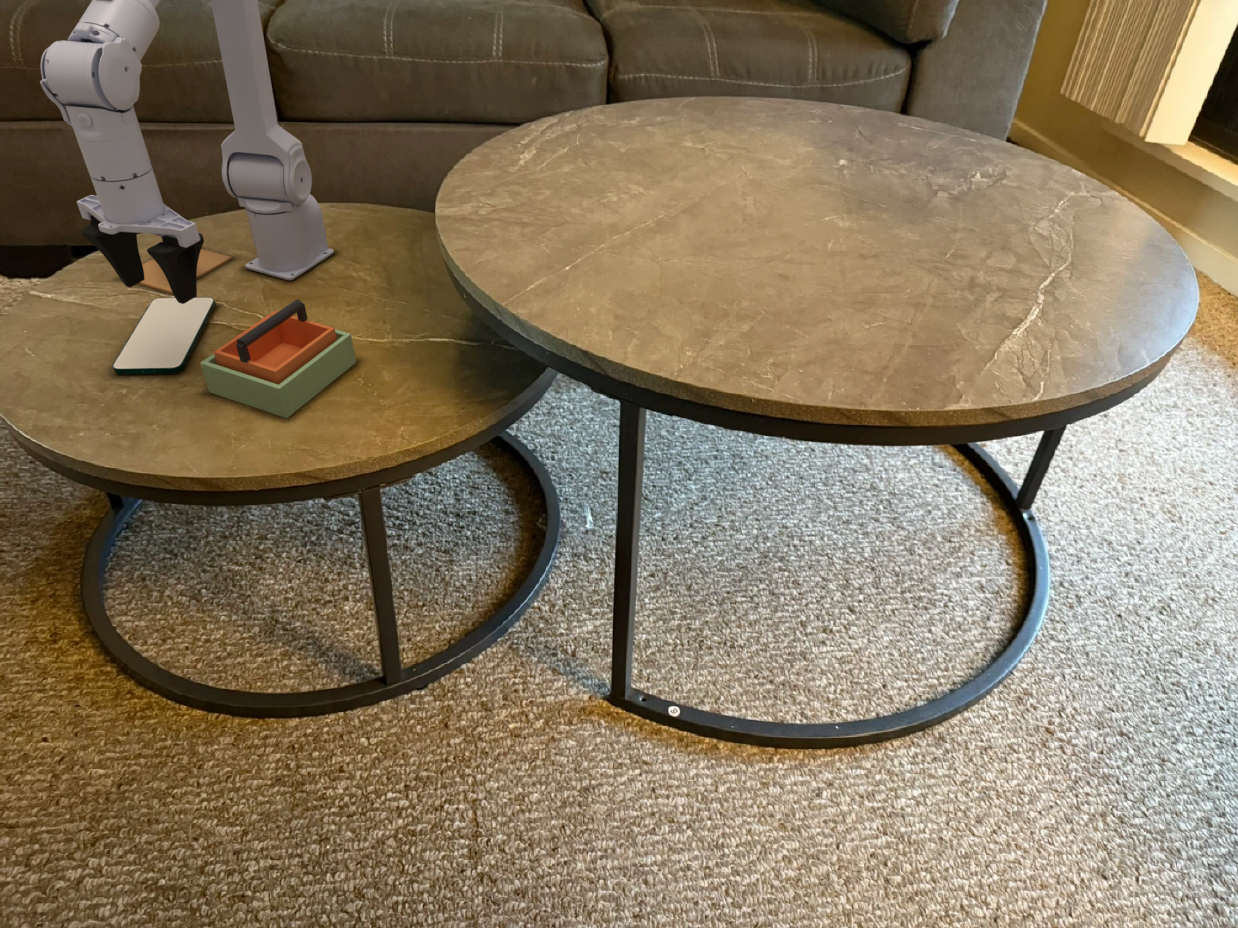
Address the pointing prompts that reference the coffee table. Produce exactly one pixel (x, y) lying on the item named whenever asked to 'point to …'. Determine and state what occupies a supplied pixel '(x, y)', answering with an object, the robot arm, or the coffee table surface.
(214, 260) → the cork pad
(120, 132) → the robot arm
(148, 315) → the smartphone
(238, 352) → the terracotta tote
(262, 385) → the green tray
